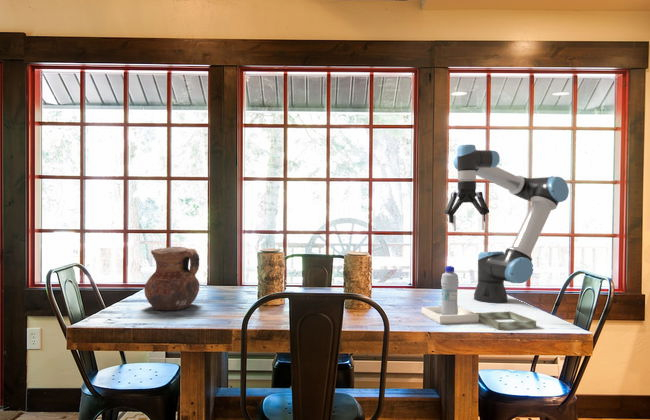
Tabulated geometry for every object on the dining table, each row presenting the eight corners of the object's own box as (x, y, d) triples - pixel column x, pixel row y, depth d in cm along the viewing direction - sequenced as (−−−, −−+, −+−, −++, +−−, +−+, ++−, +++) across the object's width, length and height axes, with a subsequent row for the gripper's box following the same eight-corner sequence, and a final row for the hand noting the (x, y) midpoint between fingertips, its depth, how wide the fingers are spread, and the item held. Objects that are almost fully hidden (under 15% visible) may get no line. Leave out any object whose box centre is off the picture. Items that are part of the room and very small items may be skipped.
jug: (139, 313, 180) (140, 250, 180) (148, 303, 201) (149, 246, 201) (197, 311, 185) (198, 250, 185) (200, 301, 205) (201, 246, 205)
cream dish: (457, 312, 189) (457, 305, 189) (478, 322, 173) (478, 314, 173) (421, 314, 185) (421, 307, 185) (439, 324, 170) (440, 316, 170)
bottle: (449, 319, 175) (450, 267, 175) (436, 315, 180) (437, 265, 180) (461, 317, 178) (462, 266, 178) (448, 314, 184) (449, 264, 184)
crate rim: (509, 317, 182) (510, 311, 182) (536, 327, 166) (536, 320, 166) (474, 319, 178) (474, 312, 178) (498, 329, 163) (498, 322, 163)
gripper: (486, 181, 203) (487, 228, 203) (436, 181, 197) (437, 230, 197) (497, 180, 196) (497, 229, 196) (445, 180, 189) (445, 231, 190)
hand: (467, 230), depth 197 cm, fingers open, 13 cm apart
